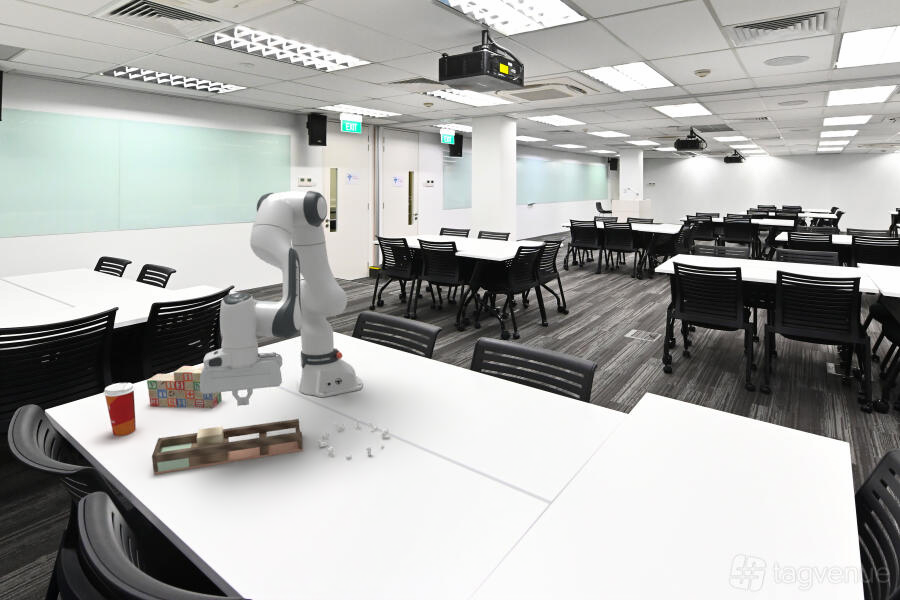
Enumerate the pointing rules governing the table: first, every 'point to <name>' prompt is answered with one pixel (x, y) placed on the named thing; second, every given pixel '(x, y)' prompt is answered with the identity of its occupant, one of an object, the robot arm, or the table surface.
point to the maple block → (210, 436)
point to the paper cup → (121, 408)
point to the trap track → (225, 447)
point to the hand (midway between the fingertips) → (243, 404)
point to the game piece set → (368, 448)
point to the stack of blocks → (181, 389)
